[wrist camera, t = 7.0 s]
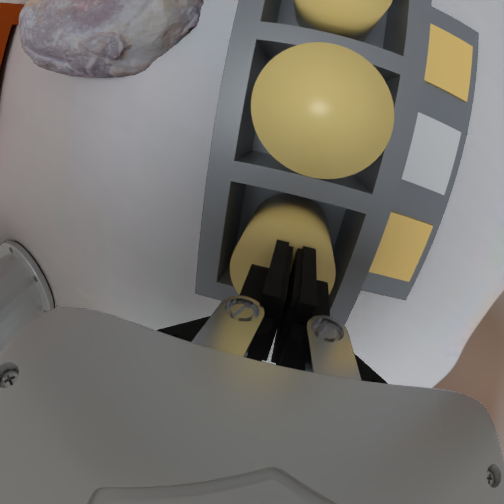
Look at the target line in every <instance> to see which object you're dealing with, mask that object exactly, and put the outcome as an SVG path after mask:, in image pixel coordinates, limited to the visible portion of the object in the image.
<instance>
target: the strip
mask: <svg viewBox="0 0 504 504" xmlns="http://www.w3.org/2000/svg"><path fill="white" fill-rule="evenodd" d="M477 59H478V32H476V31H475V30H473V29H471V28H470V27H468V26H466V25H465V24H463V23H461V22H460V21H458V20H456V19H454V18H453V17H451V16H449V15H447V14H445V13H443V12H441V11H439V10H437V9H435V8H433V7H431V23H430V36H429V47H428V55H427V63H426V71H425V77H424V84H423V90H422V95H421V101H420V106H419V111H418V116H417V120H416V125H415V129H414V134H413V138H412V142H411V146H410V150H409V154H408V158H407V161H406V165H405V169H404V172H403V176H402V179H401V182H400V186H399V189H398V192H397V195H396V198H395V202H394V205H393V208H392V211H391V214H390V216H389V219H388V222H387V225H386V228H385V231H384V233H383V236H382V239H381V242H380V244H379V247H378V249H377V252H376V255H375V257H374V260H373V262H372V265H371V267H370V269H369V272H368V274H367V277H366V279H365V281H364V284H363V286H362V288H361V290H363V291H367V292H372V293H376V294H380V295H385V296H389V297H394V298H398V299H402V300H406V298H407V296H408V294H409V293H410V291H411V289H412V287H413V285H414V283H415V280H416V278H417V276H418V274H419V272H420V270H421V268H422V266H423V263H424V261H425V259H426V257H427V254H428V252H429V250H430V248H431V245H432V243H433V240H434V238H435V235H436V233H437V230H438V228H439V225H440V223H441V220H442V217H443V214H444V212H445V209H446V206H447V203H448V200H449V197H450V194H451V191H452V188H453V185H454V181H455V178H456V175H457V171H458V168H459V164H460V160H461V156H462V153H463V148H464V144H465V140H466V135H467V131H468V126H469V121H470V115H471V110H472V104H473V97H474V90H475V81H476V71H477Z"/></svg>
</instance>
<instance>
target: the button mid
mask: <svg viewBox="0 0 504 504" xmlns="http://www.w3.org/2000/svg"><path fill="white" fill-rule="evenodd" d="M251 115H252V121H253V124H254V128H255V131H256V133H257V135H258V137H259V139H260V141H261V142H262V144H263V146H264V147H265V148H266V149H267V151H268V152H269V153H270V154H271V155H272V156H273V157H274V158H275V159H276V160H277V161H278V162H280V163H281V164H282V165H284V166H285V167H287V168H289V169H290V170H292V171H294V172H297V173H299V174H301V175H305V176H308V177H312V178H318V179H337V178H343V177H347V176H350V175H353V174H356V173H358V172H360V171H362V170H363V169H365V168H366V167H368V166H370V165H371V164H372V163H373V162H374V161H375V160H376V159H377V158H378V157H379V156H380V155H381V154H382V152H383V151H384V149H385V148H386V146H387V144H388V142H389V140H390V137H391V134H392V131H393V125H394V105H393V100H392V96H391V93H390V90H389V88H388V86H387V84H386V82H385V80H384V78H383V77H382V76H381V74H380V73H379V71H378V70H377V69H376V68H375V67H374V66H373V65H372V64H371V63H370V62H369V61H368V60H366V59H365V58H364V57H363V56H361V55H359V54H358V53H356V52H354V51H352V50H350V49H348V48H346V47H343V46H340V45H336V44H331V43H323V42H313V43H305V44H300V45H296V46H293V47H291V48H288V49H286V50H284V51H282V52H281V53H279V54H278V55H276V56H275V57H274V58H273V59H272V60H270V61H269V62H268V63H267V65H266V66H265V67H264V68H263V69H262V71H261V73H260V74H259V76H258V78H257V80H256V82H255V85H254V88H253V92H252V97H251Z"/></svg>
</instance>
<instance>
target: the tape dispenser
mask: <svg viewBox="0 0 504 504" xmlns="http://www.w3.org/2000/svg"><path fill="white" fill-rule="evenodd" d="M23 7H24V5H21V4H11V3H0V68H1V63H2V59H3V55H4V51H5V47H6V43H7V40H8V36H9V33H10V30H11V27H13V26H15V25H18V23H19V15H20V12H21V10H22V8H23Z"/></svg>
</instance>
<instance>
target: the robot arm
mask: <svg viewBox="0 0 504 504" xmlns="http://www.w3.org/2000/svg"><path fill="white" fill-rule="evenodd" d="M293 248H294V247H292V246H289V242H286V241H282V240H278V239H277V241H276V245H275V249H274V252H273V256H272V260H271V264H270V267H269V268H267V267H263V266H259V265H255V264H252V265H251V267H250V269H249V272H248V275H247V277H246V280H245V282H244V285H243V287H242V290H241V292H240V295H239V296H231V297H228V298H226V299H225V300H223V301H222V302H221V304H220V305H219V306H218V308H217V309H216V310H215V312H214V313H213V314H212V316H209V317H205V318H201V319H198V320H194V321H190V322H186V323H183V324H179V325H175V326H171V327H167V328H163V329H159V330H157V331H156V330H153V329H150V328H148V327H145V326H142V325H139V324H136V323H133V322H130V321H127V320H124V319H122V318H119V317H116V316H113V315H110V314H106V313H103V312H99V311H95V310H90V309H85V308H73V307H62V308H55V309H54V304H53V298H52V295H51V292H50V289H49V286H48V284H47V282H46V280H45V278H44V276H43V274H42V272H41V270H40V269H39V267H38V265H37V264H36V262H35V261H34V259H33V258H32V257H31V256H30V254H29V253H28V252H27V251H26V250H25V249H24V248H23V247H22V246H21V245H19V244H18V243H16V242H14V241H10V240H9V241H6V242H4V243H3V244H1V245H0V504H504V460H503V456H502V451H501V447H500V443H499V439H498V436H497V433H496V429H495V426H494V424H493V421H492V419H491V417H490V414H489V412H488V411H487V409H486V408H485V406H484V405H483V404H481V403H480V402H478V401H477V400H475V399H474V398H471V397H469V396H467V395H465V394H461V393H458V392H454V391H449V390H443V389H434V388H424V387H414V386H403V385H393V384H387V382H386V381H385V380H383V379H382V378H381V377H380V376H379V375H378V374H377V373H376V372H374V371H373V370H372V369H371V368H370V367H369V366H368V365H367V364H365V363H364V362H363V361H362V360H361V359H360V358H359V357H358V356H357V355H355V354H354V352H353V348H352V345H351V341H350V338H349V334H348V331H347V329H346V327H345V326H344V325H343V324H342V323H341V322H340V321H338V320H337V319H335V318H333V317H330V306H329V290H328V283H327V282H324V281H320V280H317V268H316V249H314V248H310V247H306V246H303V248H302V249H300V248H298V249H297V252H296V255H295V259H294V263H293V266H292V270H291V263H292V255H293ZM290 270H291V273H290ZM276 330H277V332H276ZM275 334H276V338H275V343H274V349H273V354H272V359H271V362H274V363H276V365H274V364H270V363H265V362H261V361H262V360H265V361H266V360H267V358H268V355H269V352H270V349H271V346H272V343H273V340H274V337H275Z"/></svg>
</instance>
